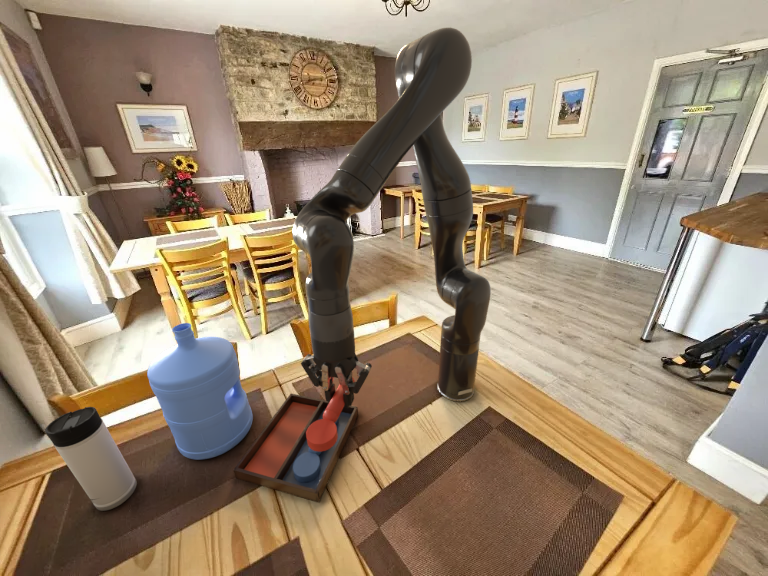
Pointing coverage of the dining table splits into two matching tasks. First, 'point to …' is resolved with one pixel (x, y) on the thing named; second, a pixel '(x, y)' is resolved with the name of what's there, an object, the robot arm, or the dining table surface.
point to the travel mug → (92, 457)
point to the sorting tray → (293, 448)
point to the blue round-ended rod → (307, 466)
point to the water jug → (201, 394)
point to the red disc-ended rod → (326, 424)
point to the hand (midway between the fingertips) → (340, 402)
